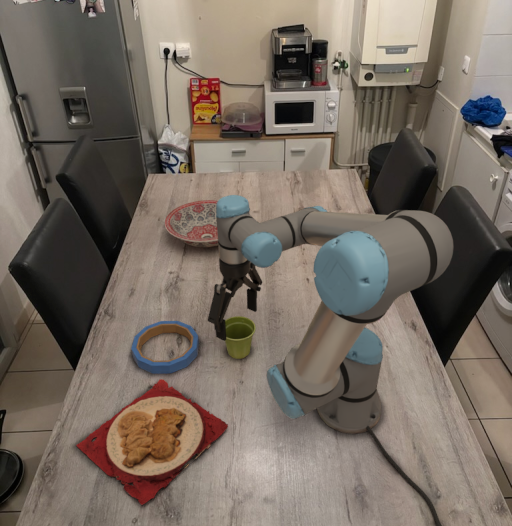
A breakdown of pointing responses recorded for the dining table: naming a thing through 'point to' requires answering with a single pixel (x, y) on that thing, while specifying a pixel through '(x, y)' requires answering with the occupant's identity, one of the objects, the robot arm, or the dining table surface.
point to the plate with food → (152, 440)
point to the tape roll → (165, 365)
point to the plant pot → (239, 336)
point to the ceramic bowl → (194, 223)
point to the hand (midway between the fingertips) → (237, 323)
